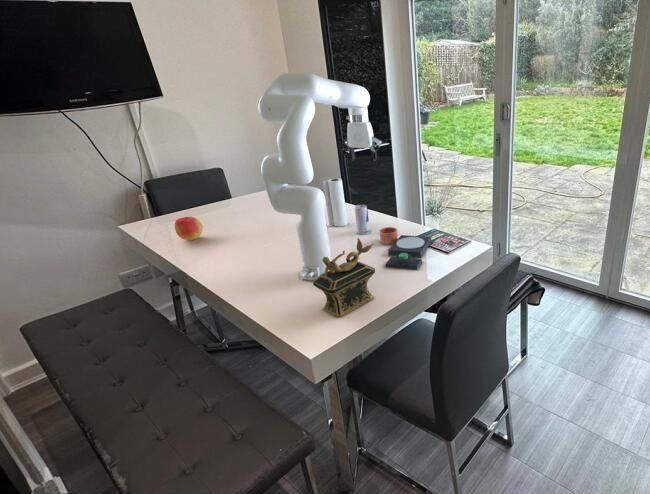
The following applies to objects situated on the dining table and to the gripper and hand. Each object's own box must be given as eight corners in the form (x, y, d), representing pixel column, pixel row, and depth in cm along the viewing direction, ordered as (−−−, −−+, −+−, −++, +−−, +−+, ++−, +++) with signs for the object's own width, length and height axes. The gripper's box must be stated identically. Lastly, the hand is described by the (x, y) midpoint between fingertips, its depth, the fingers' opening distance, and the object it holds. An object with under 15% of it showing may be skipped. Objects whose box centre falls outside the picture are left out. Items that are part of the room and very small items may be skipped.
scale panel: (417, 270, 146) (416, 262, 145) (385, 267, 149) (384, 259, 147) (422, 262, 152) (421, 255, 151) (391, 259, 154) (390, 252, 153)
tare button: (406, 260, 148) (405, 256, 147) (397, 260, 148) (397, 256, 147) (409, 256, 150) (408, 253, 150) (400, 256, 151) (400, 252, 150)
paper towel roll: (350, 222, 191) (344, 178, 182) (343, 227, 185) (337, 181, 177) (336, 221, 192) (330, 177, 184) (329, 226, 187) (322, 180, 178)
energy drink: (371, 230, 182) (368, 204, 177) (367, 234, 177) (364, 208, 172) (359, 229, 182) (356, 204, 178) (355, 234, 178) (352, 208, 173)
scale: (420, 258, 155) (420, 251, 154) (388, 255, 158) (388, 249, 157) (431, 242, 169) (431, 236, 168) (401, 240, 171) (401, 234, 170)
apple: (190, 244, 169) (183, 222, 165) (173, 242, 172) (166, 220, 168) (210, 236, 177) (204, 214, 173) (194, 233, 180) (187, 212, 176)
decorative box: (336, 321, 118) (326, 260, 110) (316, 310, 123) (305, 251, 115) (387, 292, 132) (382, 237, 124) (368, 284, 138) (361, 230, 130)
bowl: (394, 245, 166) (393, 234, 164) (378, 244, 167) (376, 233, 165) (400, 239, 172) (399, 227, 170) (384, 237, 174) (383, 226, 172)
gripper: (335, 119, 164) (340, 161, 171) (375, 120, 161) (379, 163, 168) (343, 117, 171) (348, 158, 178) (382, 118, 168) (386, 159, 175)
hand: (363, 160), depth 173 cm, fingers open, 9 cm apart
